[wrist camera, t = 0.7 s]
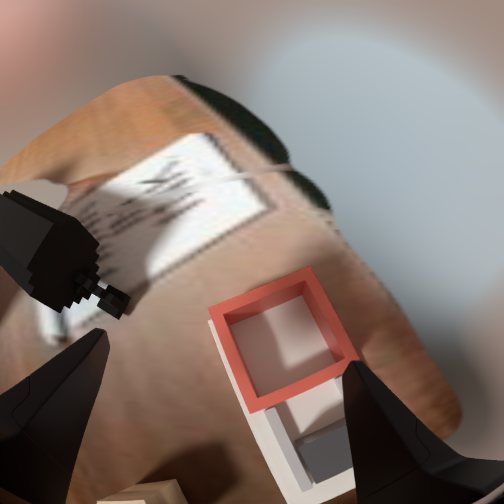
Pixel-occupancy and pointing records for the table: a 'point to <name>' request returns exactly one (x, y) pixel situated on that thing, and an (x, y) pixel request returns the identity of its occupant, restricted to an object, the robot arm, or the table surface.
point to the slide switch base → (287, 374)
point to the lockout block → (148, 494)
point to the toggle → (326, 451)
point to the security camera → (52, 255)
